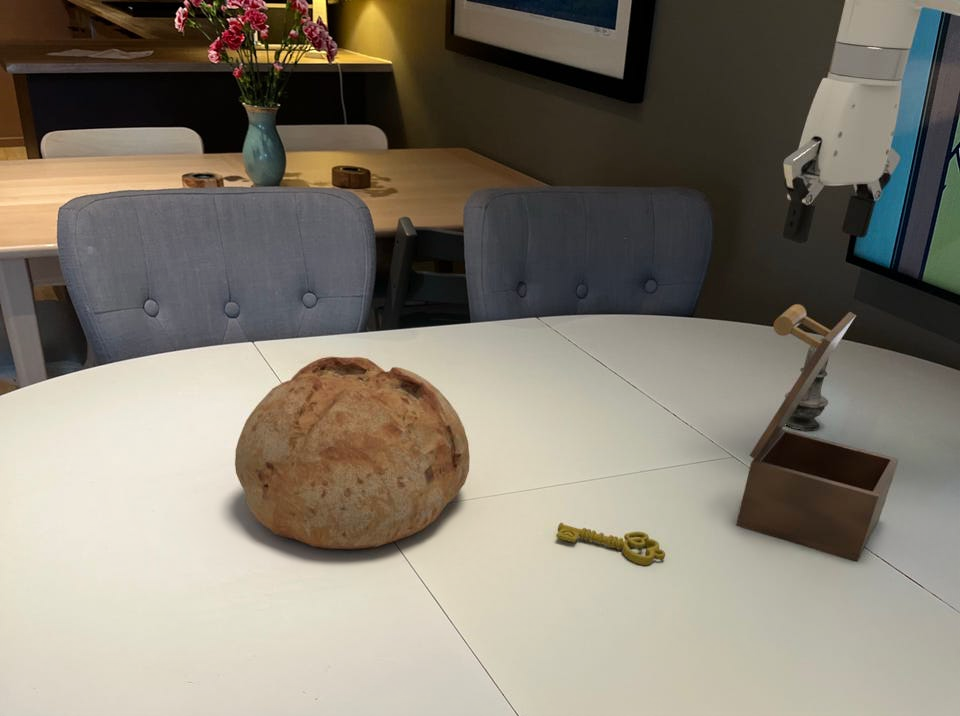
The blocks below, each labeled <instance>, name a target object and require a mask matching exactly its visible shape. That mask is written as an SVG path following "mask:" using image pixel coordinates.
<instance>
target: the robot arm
mask: <svg viewBox="0 0 960 716" xmlns="http://www.w3.org/2000/svg"><path fill="white" fill-rule="evenodd" d="M923 8H925V9H926V8H927V9H931V10H936V11H940V12H943V13H947V14H951V15H954V16H958V17H960V0H845V1H844V5H843V9H842V14H841V16H840V17H841V18H840V22H839V26H838V32H837V35H836V39H835V43H834V47H833V53H832V57H831V60H830V64H829V69H828V72H827V77H823V78H821V79H822V80H821V82H820V84H819V86H818V88H817V90H816V92H815V95H814V97H813V100H812V103H811V105H810V109H809V110H808V111H809V112H808V114H807V117H806V120H805V124H804V127H803V130H802V134H801V138H800V141H799V145H798V149H796V150H795V151H794V152H792V153H791V154H790V155H788V156H787V157H785V159H784V160H783V165H782V166H783V173H784V178H785V179H784V183H783V184H784V187H785V189H786V191H787V193H786V194H787V195H786V198H787V200H788V201H789V205H788V210H787V214H786V218H785V223H784V227H783V232H782V237H783V238H784V239H787V240H789V241H791V242H792V241H793V242H796V243H799V244H806V242H807V241H808V239H809V236H810V235H809V234H810V230H811V227H812V223H813V218H814V215H815V211H816V210H815V209H816V205H815V204H812V203H813V202H814V200H815V199H816V198H817V196H818V195H819V194H820V192H821V191H822V190H823V188H825V186H827V187H829V186H831V187H832V186H833V187H835V186H851V185H853V189H854V192H855V194H854V195H853V194H851V195H850V198H849V201H848V205H847V208H846V212H845V215H844V220H843V223H842V227H841V231H842V233H844V234H847V235H850V236H853V237H856V238H861V239H863V238H865V237H867V235H868V230H869V227H870V224H871V221H872V216H873V213H874V209H875V205H876V201H878V200H880V199H881V197H882V193H883V190H884V189H885V187H886V186H888V184H889V183H890V181H891V178H892V177H891V176H892V175H893V173H894V171H895V170H896V168H897V167H898V165H899V163H900V161H901V156H900V154H899V153H898V152H897V151H896V150H895V149H894V148H893V147H892V143H893V139H894V134H895V130H896V125H897V120H898V116H899V115H898V114H899V109H900V102H901V94H902V86H903V85H902V82H903V78H904V75H905V71H906V66H907V64H908V59H909V55H910V52H911V49H912V45H913V41H914V38H915V34H916V30H917V26H918V23H919V20H920V16H921V12H922V9H923ZM808 184H810V186H809V187H807V186H808Z"/></svg>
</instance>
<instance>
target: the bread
mask: <svg viewBox="0 0 960 716" xmlns="http://www.w3.org/2000/svg"><path fill="white" fill-rule="evenodd" d="M234 457H235V458H234V468H235V474H236V477H237V479H238V482H239V484H240V485H241V487H242V489H243V492H244V497H245V500H246V504H247V508H248V509H249V511H250V513H252V515H253V516H254V517H255V518H256V520H257V521H258V522H259V523H260V524H261V525H262V526H264V527H265V528H266V529H268V530H269V531H270V532H272V533H273V534H274V535H276V536H280V537H284V538H288V539H292V540H296V541H299V542H301V543H303V544H305V545H308V546H310V547H313V548H321V549H335V550H337V549H339V550H341V549H343V550H344V549H346V550H354V549H355V550H357V549H369V548H376V547H381V546H383V545H386V544H390V543H393V542H396V541H399V540H401V539H404V538H407V537H409V536H412V535H413V534H415V533H418V532H420V531H422V530H425V528H426V527H428V526H429V525H431V524H433V522H434V521H436V519H437V518H438V517H439V516H440V514H441V513H442V511H443V510H444V509H445V507H446V506H447V504H448V503H450V502H451V501H453V500H454V499H455V498H456V496H457V495H458V493H459V492H460V491H461V490H462V488H463V486H465V484H466V482H467V478H468V475H469V473H470V459H471V457H470V450H469V440H468V437H467V433H466V430H465V426H464V425H463V422H462V419H461V418H460V416H459V414H458V413H457V411H456V410H455V408H454V407H453V406H452V404H451V402H450V401H449V400H448V399H447V398H446V397H445V395H444V394H443V393H442V392H441V391H440V390H439V389H438V387H435V386H434V385H433V384H432V383H431V382H430V381H428V379H425V378H424V377H423V376H421V375H419V374H418V373H416V372H413V371H411V370H407V369H405V368H402V367H397V366H393V367H391V369H390V370H387V371H385V370H384V369H383V368H381V367H380V365H378V364H377V363H375V362H374V361H372V360H370V359H368V358H367V357H361V356H356V357H355V356H353V357H340V356H326V357H321V358H318V359H316V360H313V361H311V362H310V363H308V364H307V365H305V366H303V367H301V368H300V369H299V370H298V371H297V372H296V373H295V374H294V375H293V376H292V377H291V379H290V380H289V379H288V380H286V381H283V382H282V383H280V384H278V385H276V386H274V387H273V388H271V390H270V391H268V393H267V394H266V395H265V396H264V397H263V398H262V399H261V401H260V402H258V403H257V405H256V406H255V407H254V408H253V410H252V411H251V413H250V414H249V415H248V417H247V418H246V420H245V423H244V425H243V427H242V429H241V432H240V435H239V437H238V440H237V444H236V448H235V456H234Z"/></svg>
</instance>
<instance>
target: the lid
mask: <svg viewBox="0 0 960 716" xmlns="http://www.w3.org/2000/svg"><path fill="white" fill-rule="evenodd" d="M856 317H857V315H856V314H855V313H853V312H851V311H849V312H848V313H847V314H846V315H845V316H844V317H843V318H842V319H841V320H840V321H839V322H838V323H836V325H835V326H834V327H833V328H832V329H830V328H827V327H826V326H824V325H822V324H821V323H819V322H817V321H815V320H814V319H813V318H810V317H809V316H808V315H807V310H806V308H805V307H804V305H802V304H799V303H797V304H793V305H791V306H790V307H789V308H787V309H786V310H785V311H784V312H782V314H780V315H779V316H778V317H777V318H776V319H775V320H774V322H773V331H774V332H775V334H777V335H778V336H782V337H784V336H785V337H786V336H787V335H789V334H790V335H792V336H793V337H795V338H797V339H798V340H800V341H802V342H803V343H805V344H807V345H809V347H811V346H812V347H814V348H816V349H817V350H816V351H815V353H814V355H813V356H812V358H811V359H810V361H809V362H808V364H807V366H806V367H805V369H804V370H803V372H800V375H799V377H798V378H797V380H796V381H795V383H794V384H793V386H792V388H791V389H790V390H789V391H788V392H789V394H788V395H787V397H786V398H785V399H784V400H783V402H782V403H781V404H780V406H779V408H778V410H777V411H776V413H775V414H774V416H773V418H772V419H771V421H770V422H769V424H768V425H767V427H766V429H765V430H764V432H763V433H762V435H761V436H760V438H759V440H758V441H757V442H756V444H755V446H754V447H753V449H752V450H751V452H750V453H749V457H750V458H752V459H756V458H757V457H758V456H759V455H760V454H761V453H762V451H763V450H764V449H765V448H766V447H767V446H768V444H769V443H770V442H771V441H772V440H773V439H774V437H775V436H776V435H777V434H778V433H779V432H780V430H781V429H784V427H785V426H786V425H785V424H786V423H787V421H788V420H789V418H790V417H791V415H792V413H793V412H794V410H795V409H796V407H797V406H798V404H799V403H800V401H801V400H802V398H803V397H804V395H805V393H806V392H807V390H808V389H809V387H810V386H811V384H812V383H813V381H814V380H815V378H816V377H817V375H818V373H819V372H820V370H821V369H822V367H823V366H824V364H825V363H826V361H827V360H828V358H829V359H830V357H831V355H832V353H833V352H834V350H835V349H836V348H837V346H838V344H839V343H840V341H841V340H842V338H843V337H844V335H845V334H846V332H847V330H848V329H849V327H850V326H851V324H852V323H853V321H854V320H855V318H856ZM800 324H802V325H803V326H805V327H807V328H809V329H811V330H812V331H813V332H815V333H817V334H819V335H820V336H822V337H823V340H822V342H821V341H819V340H820V339H818V338H816V337H815V336H813V335H811V334H809V333H807V332H806V331H804V330H803V329H801V328H799V327H798V326H800ZM828 361H829V360H828Z"/></svg>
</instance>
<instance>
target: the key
mask: <svg viewBox="0 0 960 716" xmlns="http://www.w3.org/2000/svg"><path fill="white" fill-rule="evenodd" d="M555 537H556V538H557V539H560V540H563V541H566V542H570V543H575V542H577V540H578V539H580V540H584V541H586V542H588V541H589V542H590V543H593V542H596V543H597V545H602V544H603V545H606V547H608V548H611V549H616V550H617V551H619V550H621V552H622V554H623V555H624V557H625V558H626V559H627V560H628V561H631V562H632V563H635V564H637V565H640V566H641V565H642V566H648V565H651V564H652V563H653V562H654V560H658V561H659V560H663V559H665V558H666V552H665V551H664V550H663V549H661V548H660V544H659V542H658V541H657V540H656V539H652V538H650V537H649V534H648V533H647V532H644V531H631V532H627V533H624V536H623V538H622V537H618V536H616V535H615V536H613V535H612V534H610V535H609V536H607V535H605V534H604V533H603V532H599V533H597V532H596V530H592V529H590V528H586V527H583V528H578V527H574V526H572V525H571V526H570V525H566V524H564V523H563V522H559V524H558V526H557V533H556V535H555ZM631 548H634V549H643V548H645V552H644V553H645V555H642V554H639V553H637V552H636V551H633V550H632V549H631Z"/></svg>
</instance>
